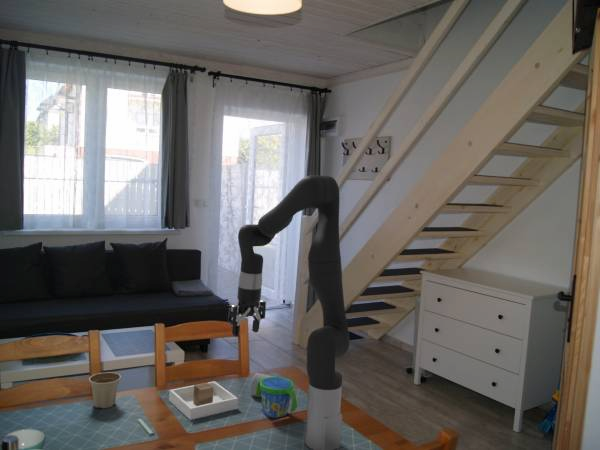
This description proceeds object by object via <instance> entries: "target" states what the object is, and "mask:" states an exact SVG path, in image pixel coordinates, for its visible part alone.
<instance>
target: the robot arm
mask: <svg viewBox="0 0 600 450" xmlns="http://www.w3.org/2000/svg"><path fill="white" fill-rule="evenodd" d="M307 209H312V210H313V209H317V217H318V218H317V219H318V223H317V230H316V234H315V236H314V237H313V240H312V243H311V246H310V248H309V250H308V256H307V265H308V266H307V267H308V277H309V282H310V285H311V287H312V289H313V292H314V293H315V296H316V297H317V299H318V301H319V303H320V306H321V310H322V322H323V324H322V325H323V326H322V327H320V328H317V329H314V330H313V331H311V333H310V334H309V335H308V338H307V343H306V373H307V375H308V390H307V407H306V423H305V439H304V440H305V441H304V442H305V446H307V447H308V448H309V449H310V450H336V449H340V448H341V443H342V442H341V440H342V427H343V426H342V425H343V414H342V413H341V403H342V401H341V400H342V389H343V375H342V374H341V372H339V371H338V370H336V359H337V360H338V359H339V358H341V357H343V356H345V355H346V354H347V353H348V352H349V348H350V344H351V341H350V332H349V327H348V320H347V316H346V309H345V298H344V287H343V269H342V258H341V248H340V247H341V245H340V225H339V224H340V188H339V185H338V182H337V180H336V179H335V178H334V177H333V176H329V175H315V174H313V175H311V174H310V175H307V176H304V177H302V178H301V179H300V180H299V181H298V182H297V183H296V184H295V185H294V186H293V188H292V189H291V190H290V191H289V192H288V193H287V194H286V196H284V197H283V199H282V200H281V201H280V202H279V203H278V204H276V206H274V207H273V208H272V209H270V210H269V211H268V212H266V213H264V214H263V216H261V217H260V218H259V219H258V221H257V224H243V225H242V226H241V227H240V228H239V231H238V232H237V233H238V235H237V240H238V241H237V242H238V246H239V251H240V260H241V261H240V262H241V263H240V272H239V277H238V284H237V285H238V286H237V287H238V288H237V296H236V297H237V300H238V302H237V304H236V305H234V304H230V305H229V309H228V317H227V323H229V324H230V325H232V331H231V333H232V336H233V337H236V338H237V337H240V325H241V323H242V321H244V320H245V319H246V318H249V317H252V318H253V319H252V327H251V328H252V329H251V331H252V332H254V333H258V332H259V330H260V325H261V324H260V322H261V321H262V320H263V319H264V320H265V319H266V311H267V310H266V308H267V307H266V306H267V302H266V301H265V300H262V299H261V297H262V296H261V295H262V287H263V286H262V285H263V267H264V257H263V255H261V254H260V253H256V252H254V247H264V246H267V245H269V244H270V243H271V242H272V240H273V239H274V238H275V237H276V235H277V234H279V233H281V232H282V231H284V230H285V229H286V228H287V227H288V226H289V225H290V224H291V222H292V221H293V218H294V216H295V215H296V214H297V213H299V212H301V211H304V210H307Z"/></svg>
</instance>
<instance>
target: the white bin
mask: <svg viewBox="0 0 600 450" xmlns="http://www.w3.org/2000/svg"><path fill="white" fill-rule="evenodd" d="M207 383H208V384H210V385H211V386H212V387H213V403H209V404H204V405H200V406H196V405H195V404H194V403H193V399H194V385H195V384H194V385H188V386H183V387H178V388H173V389H169V392H168V393H169V396H168V397H169V398H168V401H169V402H170V403H171V404H173V406H174V407H176V409H178V411H180V412H181V413H182V414H183V415H184V416H185V417H186V418H187V419H188V420H189V421H191V420H192V421H193V420H196V419H201V418H205V417H210V416H215V415H218V414H222V413H225V412H229V411H235V410H238V401H239V399H238V398H239V397H237V396H236V395H235V394H233V393H231V391H228V390H227V389H226V388H224V387H223V386H221V384H219V383H218V382H217V381H215V380H214V381H209V382H207Z"/></svg>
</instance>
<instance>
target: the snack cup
mask: <svg viewBox="0 0 600 450" xmlns="http://www.w3.org/2000/svg"><path fill="white" fill-rule="evenodd" d="M294 386H295V384H294V382H293V381H292V380H291V379H289V378H285V377H282V376H274V377H268V378H264V379H263V380H261V381H259V383H258V385H257V389H256V396H255V397H257V398H261V405H262V414H263V415H264V416H265V417H268V418H269V417H270V418H272V419H273V418H274V419H275V418H276V419H277V418H278V419H279V418H284V417H285V416H286V415H287V414H288V412H289V406H290V401H291V402H292V403H291V407H290V413H293V412H295V411H296V410H297V407H298V403H297V401H298V400H297V396H296V393H295V390H294V388H295V387H294ZM261 395H262V397H260V396H261Z"/></svg>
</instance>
